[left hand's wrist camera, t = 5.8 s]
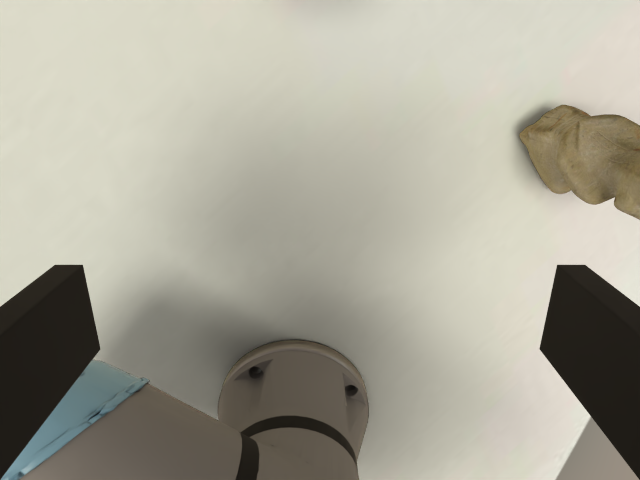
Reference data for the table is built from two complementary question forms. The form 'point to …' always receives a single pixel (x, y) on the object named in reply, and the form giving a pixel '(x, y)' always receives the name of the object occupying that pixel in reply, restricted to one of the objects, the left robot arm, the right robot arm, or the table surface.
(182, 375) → the table surface
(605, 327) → the left robot arm
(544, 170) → the sculpture
